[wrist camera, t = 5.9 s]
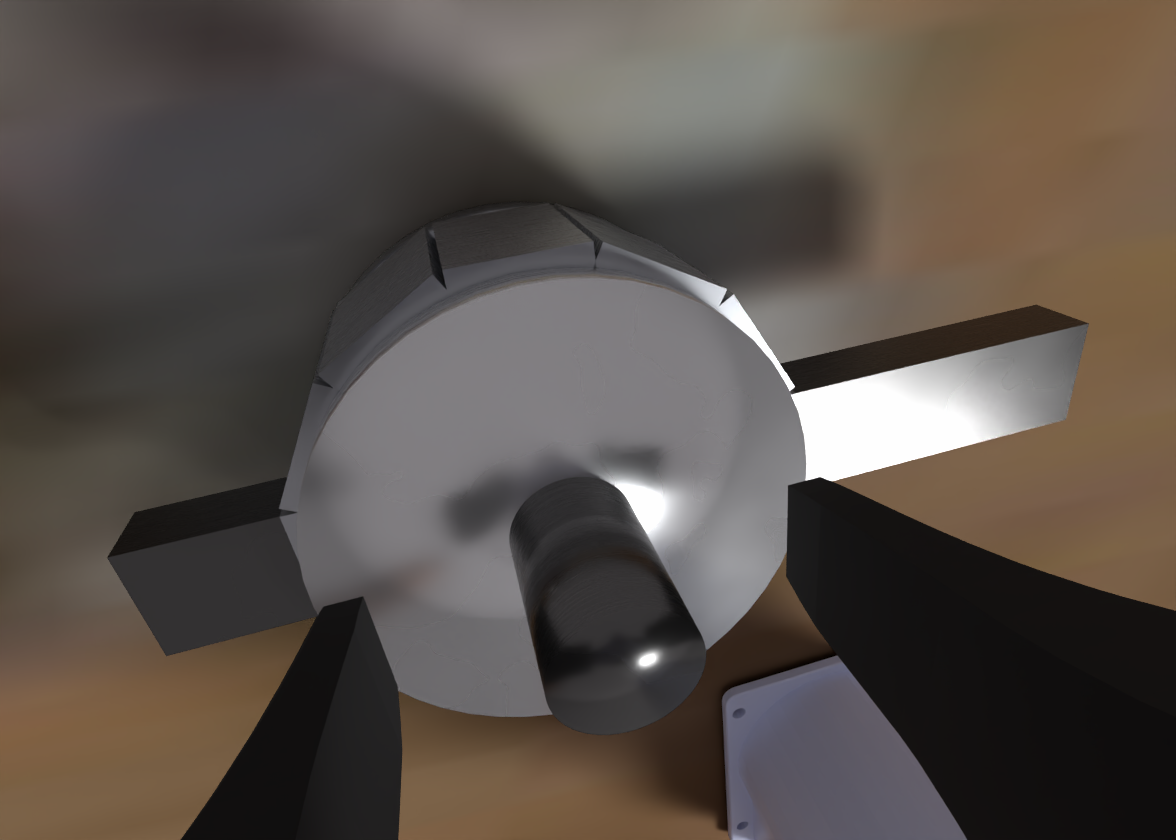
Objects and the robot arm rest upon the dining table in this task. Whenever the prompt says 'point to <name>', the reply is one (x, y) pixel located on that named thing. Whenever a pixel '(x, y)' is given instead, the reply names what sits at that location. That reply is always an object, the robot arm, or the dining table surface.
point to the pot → (579, 239)
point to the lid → (554, 495)
